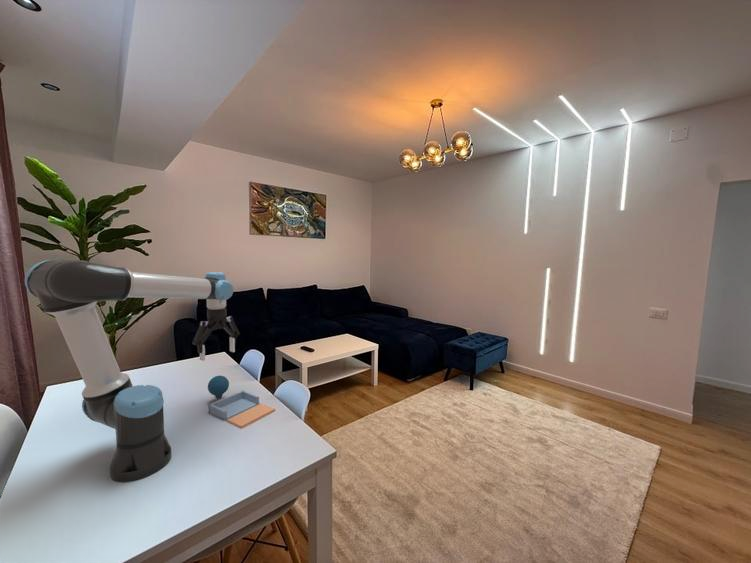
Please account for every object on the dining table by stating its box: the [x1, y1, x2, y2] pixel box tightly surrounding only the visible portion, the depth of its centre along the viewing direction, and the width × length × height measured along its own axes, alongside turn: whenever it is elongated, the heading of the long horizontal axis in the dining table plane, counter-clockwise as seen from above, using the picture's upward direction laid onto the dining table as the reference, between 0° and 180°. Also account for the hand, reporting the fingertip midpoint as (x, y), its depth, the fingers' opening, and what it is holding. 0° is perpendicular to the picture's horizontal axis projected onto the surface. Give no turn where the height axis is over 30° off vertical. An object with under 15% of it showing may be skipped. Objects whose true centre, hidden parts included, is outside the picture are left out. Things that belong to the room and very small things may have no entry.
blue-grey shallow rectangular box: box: [208, 390, 260, 422], centre depth 128 cm, size 16×11×4 cm
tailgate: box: [225, 403, 276, 429], centre depth 122 cm, size 16×1×10 cm
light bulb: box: [207, 375, 230, 401], centre depth 134 cm, size 8×8×12 cm
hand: (218, 355), depth 132 cm, fingers open, 13 cm apart
